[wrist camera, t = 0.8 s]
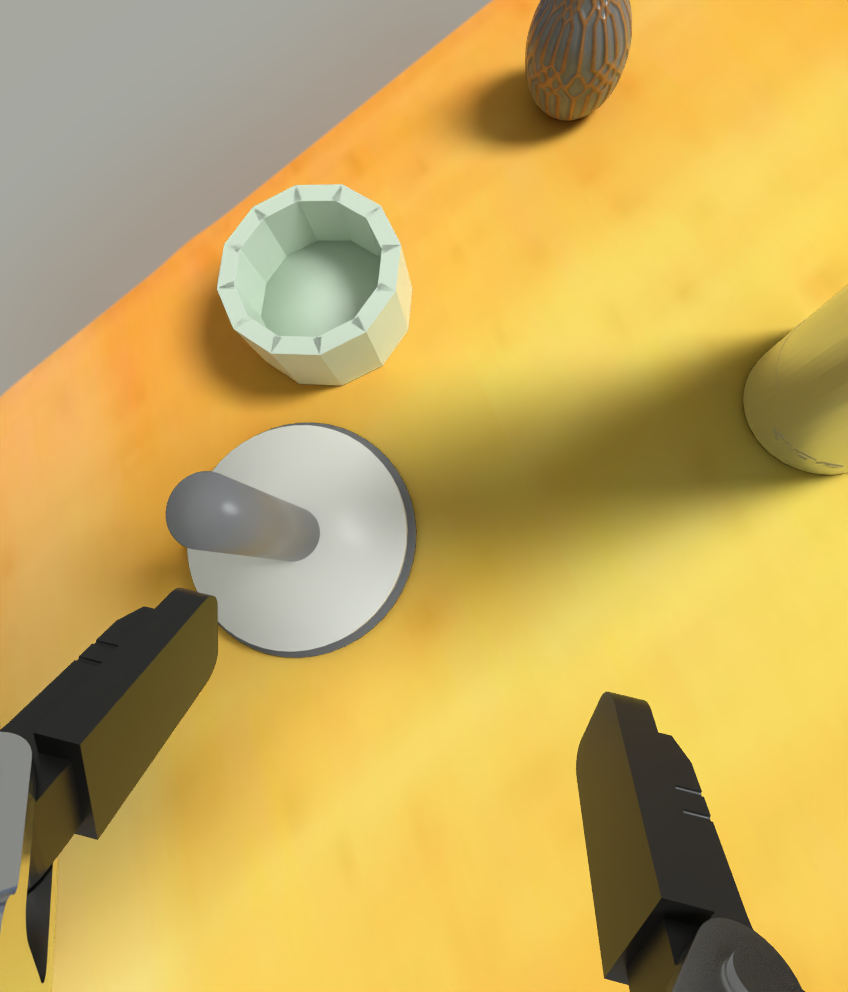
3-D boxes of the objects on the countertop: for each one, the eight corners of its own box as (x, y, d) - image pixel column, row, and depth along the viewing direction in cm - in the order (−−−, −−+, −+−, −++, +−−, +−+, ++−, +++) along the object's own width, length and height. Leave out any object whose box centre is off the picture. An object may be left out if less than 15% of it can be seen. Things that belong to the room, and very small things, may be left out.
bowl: (316, 209, 40) (291, 156, 35) (443, 282, 37) (436, 236, 32) (222, 332, 39) (184, 296, 34) (346, 415, 36) (324, 388, 32)
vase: (506, 86, 39) (511, -52, 31) (588, 44, 39) (616, -107, 31) (548, 153, 38) (565, 27, 29) (633, 110, 38) (676, -30, 29)
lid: (281, 390, 37) (184, 300, 25) (452, 506, 34) (432, 464, 22) (154, 562, 36) (-9, 551, 24) (319, 697, 33) (224, 759, 21)
